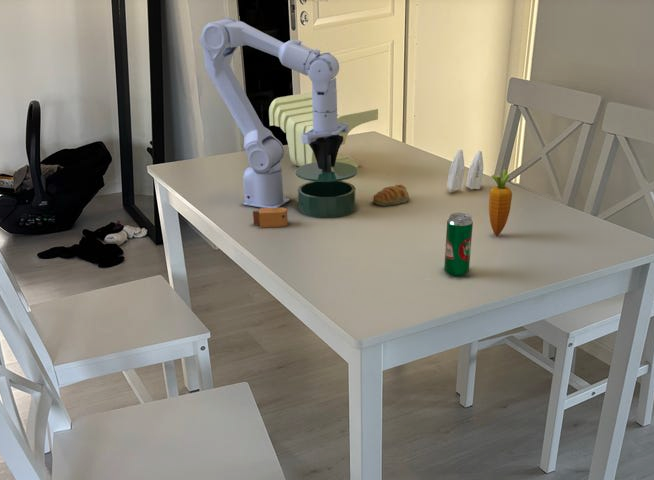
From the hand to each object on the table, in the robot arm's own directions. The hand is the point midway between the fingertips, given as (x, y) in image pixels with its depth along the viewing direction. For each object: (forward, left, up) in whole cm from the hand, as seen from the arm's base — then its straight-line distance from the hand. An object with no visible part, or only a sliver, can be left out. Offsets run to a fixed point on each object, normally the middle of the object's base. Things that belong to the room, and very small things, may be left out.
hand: (326, 167), depth 180 cm
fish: (-7, -16, -10) cm, 20 cm away
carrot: (+44, -1, -11) cm, 45 cm away
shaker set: (+27, +27, -11) cm, 40 cm away
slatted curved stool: (-17, +31, -11) cm, 37 cm away
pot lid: (0, 0, -1) cm, 1 cm away
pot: (0, 0, -10) cm, 10 cm away
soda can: (+42, -24, -11) cm, 49 cm away
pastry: (+13, +11, -11) cm, 20 cm away
